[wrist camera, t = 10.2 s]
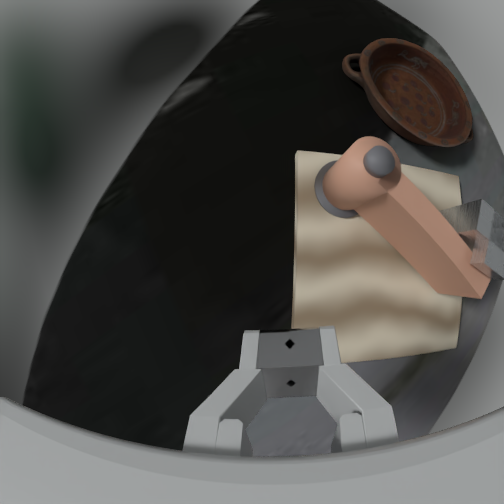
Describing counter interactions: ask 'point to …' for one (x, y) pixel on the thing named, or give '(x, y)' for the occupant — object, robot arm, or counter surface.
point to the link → (403, 217)
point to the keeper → (480, 235)
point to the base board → (366, 272)
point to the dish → (413, 92)
